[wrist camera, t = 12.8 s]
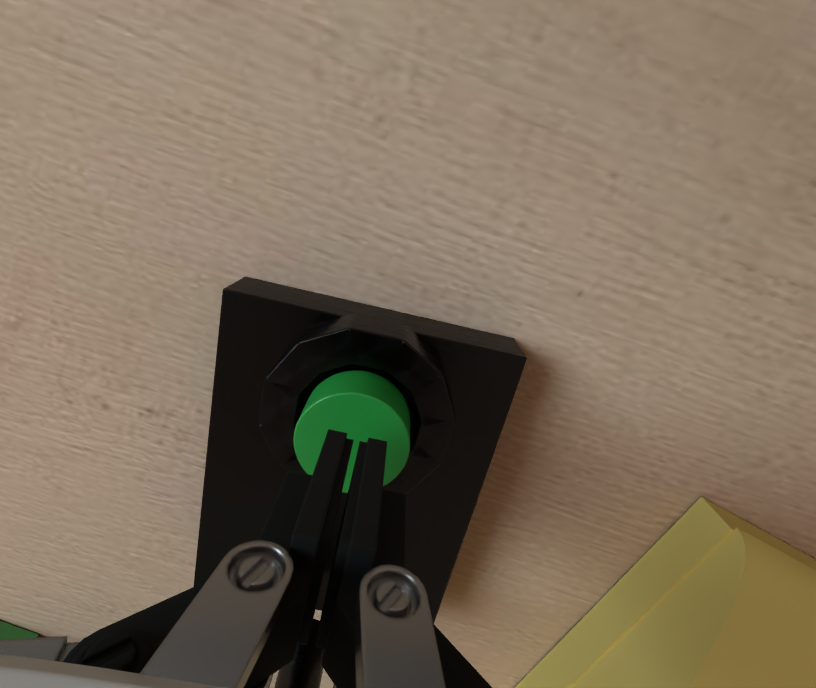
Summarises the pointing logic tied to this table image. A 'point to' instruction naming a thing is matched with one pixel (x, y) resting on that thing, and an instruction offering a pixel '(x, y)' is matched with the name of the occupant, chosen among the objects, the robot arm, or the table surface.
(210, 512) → the lamp base
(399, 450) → the button
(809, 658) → the pop-up book
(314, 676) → the lamp
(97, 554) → the table surface
